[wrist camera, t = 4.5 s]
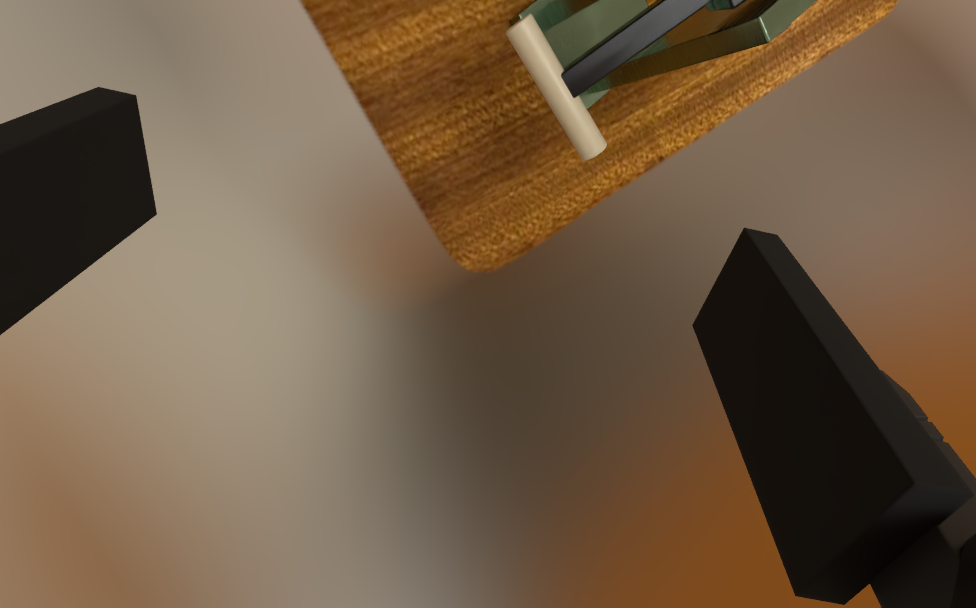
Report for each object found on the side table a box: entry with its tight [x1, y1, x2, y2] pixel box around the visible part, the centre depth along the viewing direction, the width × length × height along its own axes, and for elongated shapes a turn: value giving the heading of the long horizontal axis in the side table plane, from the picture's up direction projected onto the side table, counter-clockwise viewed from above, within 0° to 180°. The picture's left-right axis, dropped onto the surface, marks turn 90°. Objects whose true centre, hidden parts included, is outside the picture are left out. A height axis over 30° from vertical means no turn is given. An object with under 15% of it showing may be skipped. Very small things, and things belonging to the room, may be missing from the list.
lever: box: [505, 0, 746, 161], centre depth 21 cm, size 10×6×2 cm, turn 128°
